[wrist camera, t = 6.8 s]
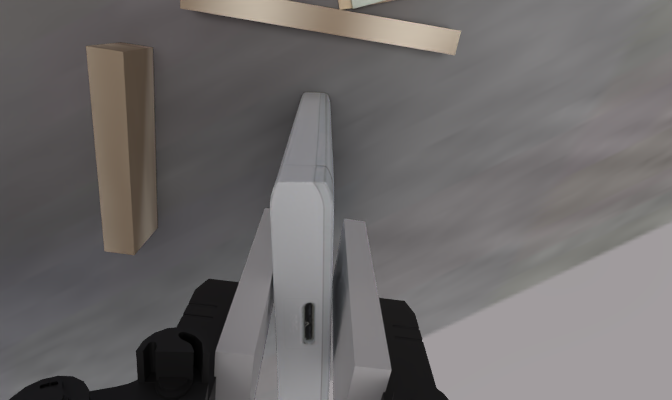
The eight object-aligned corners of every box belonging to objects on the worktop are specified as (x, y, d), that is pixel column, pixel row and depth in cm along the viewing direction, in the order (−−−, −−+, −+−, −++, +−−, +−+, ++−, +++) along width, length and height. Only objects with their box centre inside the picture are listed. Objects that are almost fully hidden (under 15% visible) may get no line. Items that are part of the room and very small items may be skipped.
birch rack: (131, 224, 23) (104, 251, 21) (117, -28, 18) (78, -38, 15) (391, 258, 24) (398, 288, 22) (449, 29, 19) (468, 31, 16)
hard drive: (331, 92, 20) (340, 181, 9) (328, 233, 24) (333, 429, 12) (298, 91, 20) (266, 181, 9) (300, 233, 24) (279, 429, 12)
